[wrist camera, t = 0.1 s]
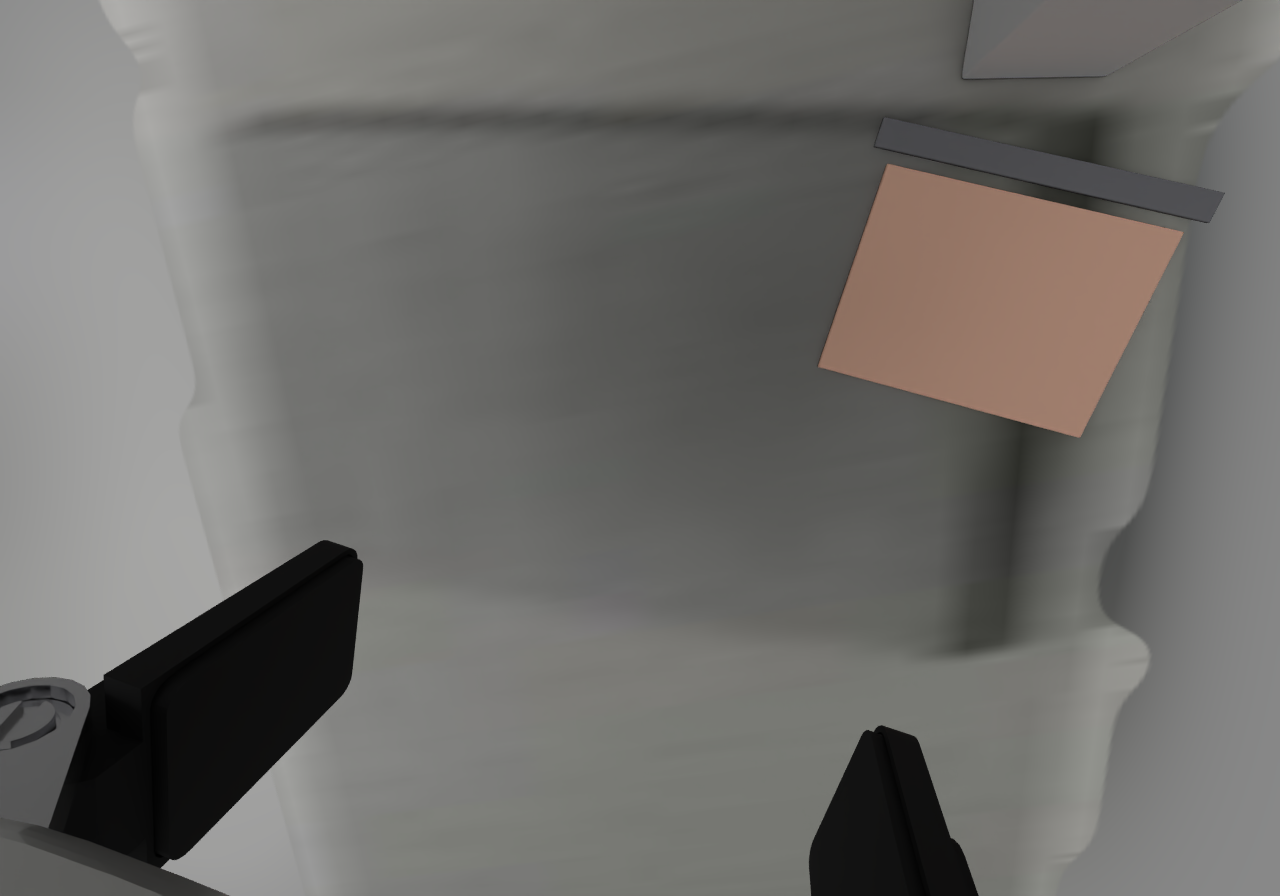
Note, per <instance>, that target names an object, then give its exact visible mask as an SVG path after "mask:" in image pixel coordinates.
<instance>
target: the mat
mask: <svg viewBox="0 0 1280 896" xmlns="http://www.w3.org/2000/svg"><path fill="white" fill-rule="evenodd" d="M1183 233H1184V232H1180V231H1176V230H1172V229H1168V228H1163V227H1159V226H1155V225H1150V224H1146V223H1142V222H1137V221H1133V220H1129V219H1124V218H1120V217H1116V216H1111V215H1107V214H1103V213H1098V212H1094V211H1090V210H1085V209H1081V208H1077V207H1072V206H1068V205H1064V204H1059V203H1055V202H1051V201H1046V200H1042V199H1038V198H1033V197H1029V196H1025V195H1021V194H1016V193H1012V192H1008V191H1003V190H999V189H995V188H990V187H986V186H982V185H977V184H973V183H969V182H964V181H960V180H956V179H951V178H947V177H943V176H938V175H934V174H930V173H925V172H921V171H917V170H912V169H908V168H904V167H899V166H895V165H891V164H887V165H886V168H885V170H884V173H883V176H882V179H881V182H880V185H879V188H878V191H877V194H876V197H875V200H874V203H873V205H872V208H871V211H870V214H869V217H868V220H867V223H866V226H865V229H864V232H863V235H862V238H861V241H860V243H859V246H858V249H857V252H856V255H855V258H854V261H853V264H852V267H851V270H850V273H849V276H848V279H847V281H846V284H845V287H844V290H843V293H842V296H841V299H840V302H839V305H838V308H837V311H836V314H835V317H834V319H833V322H832V325H831V328H830V331H829V334H828V337H827V340H826V343H825V346H824V349H823V352H822V354H821V357H820V360H819V363H818V367H820V368H824V369H828V370H831V371H835V372H839V373H842V374H846V375H850V376H853V377H857V378H861V379H865V380H868V381H872V382H876V383H879V384H883V385H887V386H890V387H894V388H898V389H901V390H905V391H909V392H912V393H916V394H920V395H924V396H927V397H931V398H935V399H938V400H942V401H946V402H949V403H953V404H957V405H960V406H964V407H968V408H971V409H975V410H979V411H983V412H986V413H990V414H994V415H997V416H1001V417H1005V418H1008V419H1012V420H1016V421H1019V422H1023V423H1027V424H1030V425H1034V426H1038V427H1042V428H1045V429H1049V430H1053V431H1056V432H1060V433H1064V434H1067V435H1071V436H1075V437H1078V438H1080V436H1081V434H1082V433H1083V431H1084V429H1085V427H1086V425H1087V423H1088V421H1089V419H1090V417H1091V415H1092V413H1093V411H1094V409H1095V407H1096V405H1097V403H1098V401H1099V399H1100V397H1101V395H1102V393H1103V391H1104V389H1105V387H1106V385H1107V383H1108V381H1109V379H1110V377H1111V375H1112V373H1113V371H1114V369H1115V367H1116V365H1117V363H1118V361H1119V359H1120V358H1121V356H1122V354H1123V352H1124V350H1125V348H1126V346H1127V344H1128V342H1129V340H1130V338H1131V336H1132V334H1133V332H1134V330H1135V328H1136V326H1137V324H1138V322H1139V320H1140V318H1141V316H1142V314H1143V312H1144V310H1145V308H1146V306H1147V304H1148V302H1149V300H1150V298H1151V296H1152V294H1153V292H1154V290H1155V288H1156V286H1157V285H1158V283H1159V281H1160V279H1161V277H1162V275H1163V273H1164V271H1165V269H1166V267H1167V265H1168V263H1169V261H1170V259H1171V257H1172V255H1173V253H1174V251H1175V249H1176V247H1177V245H1178V243H1179V241H1180V239H1181V237H1182V235H1183Z"/></svg>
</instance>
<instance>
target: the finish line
mask: <svg viewBox="0 0 1280 896" xmlns="http://www.w3.org/2000/svg"><path fill="white" fill-rule="evenodd" d="M874 147H876V148H881V149H885V150H890V151H894V152H898V153H903V154H907V155H911V156H916V157H920V158H924V159H929V160H933V161H938V162H942V163H946V164H951V165H955V166H959V167H964V168H968V169H973V170H977V171H981V172H986V173H990V174H994V175H999V176H1003V177H1008V178H1012V179H1016V180H1021V181H1025V182H1029V183H1034V184H1038V185H1042V186H1047V187H1051V188H1056V189H1060V190H1064V191H1069V192H1073V193H1077V194H1082V195H1086V196H1091V197H1095V198H1099V199H1104V200H1108V201H1112V202H1117V203H1121V204H1125V205H1130V206H1134V207H1139V208H1143V209H1147V210H1152V211H1156V212H1160V213H1165V214H1169V215H1174V216H1178V217H1182V218H1187V219H1191V220H1195V221H1200V222H1204V223H1209V222H1210V221H1211V219H1212V217H1213V215H1214V213H1215V211H1216V209H1217V207H1218V205H1219V203H1220V202H1221V200H1222V198H1223V196H1224V194H1225V193H1223V192H1219V191H1214V190H1209V189H1205V188H1201V187H1196V186H1192V185H1187V184H1183V183H1178V182H1174V181H1169V180H1165V179H1160V178H1156V177H1151V176H1147V175H1142V174H1138V173H1133V172H1129V171H1124V170H1120V169H1115V168H1111V167H1106V166H1102V165H1097V164H1093V163H1088V162H1084V161H1080V160H1075V159H1071V158H1066V157H1062V156H1057V155H1053V154H1048V153H1044V152H1039V151H1035V150H1030V149H1026V148H1021V147H1017V146H1012V145H1008V144H1003V143H999V142H994V141H990V140H985V139H981V138H976V137H972V136H967V135H963V134H958V133H954V132H949V131H945V130H941V129H936V128H932V127H927V126H923V125H918V124H914V123H909V122H905V121H900V120H896V119H891V118H887V117H884V118H883V121H882V124H881V127H880V130H879V133H878V136H877V139H876V142H875V145H874Z"/></svg>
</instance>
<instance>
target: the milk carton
mask: <svg viewBox="0 0 1280 896" xmlns="http://www.w3.org/2000/svg"><path fill="white" fill-rule="evenodd" d="M1240 1H1241V0H974V4H973V10H972V16H971V22H970V28H969V34H968V40H967V46H966V52H965V58H964V65H963V72H962V77H963V79H985V78H1039V77H1092V76H1107V75H1109V74H1111V73H1113V72H1115V71H1116V70H1118V69H1120V68H1122V67H1124V66H1125V65H1127V64H1129V63H1131V62H1132V61H1134V60H1136V59H1138V58H1140V57H1141V56H1143V55H1145V54H1147V53H1149V52H1150V51H1152V50H1154V49H1156V48H1157V47H1159V46H1161V45H1163V44H1165V43H1166V42H1168V41H1170V40H1172V39H1174V38H1175V37H1177V36H1179V35H1181V34H1182V33H1184V32H1186V31H1188V30H1190V29H1191V28H1193V27H1195V26H1197V25H1199V24H1200V23H1202V22H1204V21H1206V20H1207V19H1209V18H1211V17H1213V16H1215V15H1216V14H1218V13H1220V12H1222V11H1224V10H1225V9H1227V8H1229V7H1231V6H1232V5H1234V4H1236V3H1238V2H1240Z"/></svg>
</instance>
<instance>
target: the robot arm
mask: <svg viewBox="0 0 1280 896" xmlns="http://www.w3.org/2000/svg"><path fill="white" fill-rule="evenodd" d="M362 574H363V563H362V561H361V560H359V559H357V553H356V551H355V550H354V549H352V548H349V547H346V546H343V545H340V544H337V543H334V542H331V541H328V540H323V541H320V542H318V543H317V544H315V545H313V546H312V547H310V548H309V549H307V550H305V551H304V552H302V553H300V554H299V555H297V556H296V557H294V558H292V559H291V560H289V561H287V562H286V563H284V564H283V565H281V566H279V567H278V568H276V569H275V570H273V571H271V572H270V573H268V574H266V575H265V576H263V577H262V578H260V579H258V580H257V581H255V582H253V583H252V584H250V585H249V586H247V587H245V588H244V589H242V590H241V591H239V592H237V593H236V594H234V595H232V596H231V597H229V598H228V599H226V600H224V601H223V602H221V603H219V604H218V605H216V606H215V607H213V608H211V609H210V610H208V611H206V612H205V613H203V614H202V615H200V616H198V617H197V618H195V619H194V620H192V621H190V622H189V623H187V624H186V625H184V626H182V627H181V628H179V629H177V630H176V631H174V632H173V633H171V634H169V635H168V636H166V637H164V638H163V639H161V640H160V641H158V642H156V643H155V644H153V645H151V646H150V647H149V648H147V649H145V650H143V651H142V652H140V653H138V654H137V655H135V656H134V657H132V658H130V659H129V660H127V661H126V662H124V663H122V664H121V665H119V666H117V667H116V668H114V669H113V670H111V671H109V672H108V673H106V674H105V675H104V680H103V681H101V682H100V683H98V684H97V685H95V686H93V687H92V688H90V689H89V690H87V689H86V688H85V686H83V685H81V684H79V683H77V682H75V681H73V680H70V679H63V678H57V677H49V678H32V679H26V680H21V681H17V682H11V683H8V684H5V685H2V686H0V896H229V895H226V894H224V893H222V892H219V891H217V890H214V889H211V888H209V887H207V886H204V885H201V884H199V883H197V882H194V881H192V880H189V879H187V878H184V877H182V876H179V875H177V874H174V873H171V872H169V871H166V870H163V869H161V867H162V866H163V865H164V864H165V863H166V862H167V861H168V860H169V859H172V860H177V859H179V858H181V857H182V856H184V855H185V854H186V853H187V852H188V851H190V850H191V849H192V848H193V846H194V845H196V844H197V843H198V841H199V840H200V839H201V838H202V837H203V836H204V835H205V834H206V833H207V832H208V831H209V830H210V829H211V828H212V827H213V826H214V825H215V824H216V823H217V822H218V821H219V820H220V819H221V818H222V817H223V816H224V815H225V814H226V813H227V812H228V811H229V810H230V809H231V808H232V807H233V806H234V805H235V804H236V803H237V802H238V801H239V800H240V799H241V798H242V797H243V796H244V795H245V794H246V793H247V792H248V791H249V790H250V789H251V788H252V787H253V786H254V785H255V783H256V782H257V781H258V780H259V779H260V778H261V777H262V776H263V775H264V774H265V773H266V772H267V771H268V770H269V769H270V768H271V767H272V766H273V765H274V764H275V763H276V762H277V761H278V760H279V759H280V758H281V757H282V756H283V755H284V754H285V753H286V752H287V751H288V750H289V749H290V748H291V747H292V746H293V745H294V744H295V743H296V742H297V741H298V740H299V739H300V738H301V737H302V736H303V735H304V734H305V733H306V732H307V731H308V730H309V729H310V728H311V727H312V726H313V725H314V724H315V722H316V721H317V720H318V719H319V718H320V717H321V716H322V715H323V714H324V713H325V712H326V711H327V710H328V709H329V708H330V707H331V706H332V705H333V704H334V703H335V702H336V701H337V700H338V699H339V698H340V697H341V696H342V695H343V693H344V692H345V690H346V689H347V687H348V685H349V683H350V680H351V677H352V669H353V660H354V650H355V641H356V631H357V621H358V612H359V602H360V593H361V583H362ZM809 872H810V885H811V896H978V893H977V890H976V887H975V884H974V881H973V878H972V876H971V873H970V870H969V867H968V864H967V861H966V858H965V855H964V853H963V851H962V849H961V847H960V845H959V844H958V843H957V842H956V841H955V840H954V839H952V838H950V835H949V832H948V829H947V826H946V823H945V820H944V817H943V814H942V811H941V808H940V805H939V802H938V799H937V796H936V793H935V790H934V786H933V783H932V780H931V777H930V774H929V771H928V768H927V765H926V762H925V759H924V756H923V753H922V750H921V747H920V744H919V742H918V740H917V738H916V737H914V736H912V735H909V734H906V733H903V732H900V731H897V730H894V729H891V728H888V727H885V726H882V725H881V726H878V727H877V728H876V729H875V731H874V732H872V731H869V730H866V731H865V732H863V734H862V736H861V738H860V740H859V742H858V744H857V747H856V749H855V751H854V753H853V755H852V757H851V760H850V762H849V764H848V766H847V768H846V770H845V773H844V775H843V777H842V779H841V781H840V783H839V786H838V788H837V790H836V792H835V794H834V796H833V799H832V801H831V803H830V805H829V807H828V809H827V812H826V814H825V816H824V818H823V820H822V822H821V825H820V827H819V829H818V831H817V833H816V835H815V838H814V840H813V842H812V846H811V850H810V856H809Z"/></svg>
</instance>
